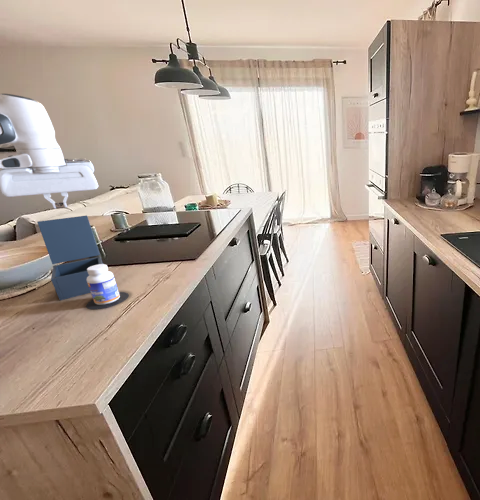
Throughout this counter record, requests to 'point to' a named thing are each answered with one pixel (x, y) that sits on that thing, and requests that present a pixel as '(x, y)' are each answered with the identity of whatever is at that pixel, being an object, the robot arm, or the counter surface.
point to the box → (72, 278)
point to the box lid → (68, 239)
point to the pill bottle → (102, 284)
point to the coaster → (94, 306)
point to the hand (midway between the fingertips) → (61, 208)
